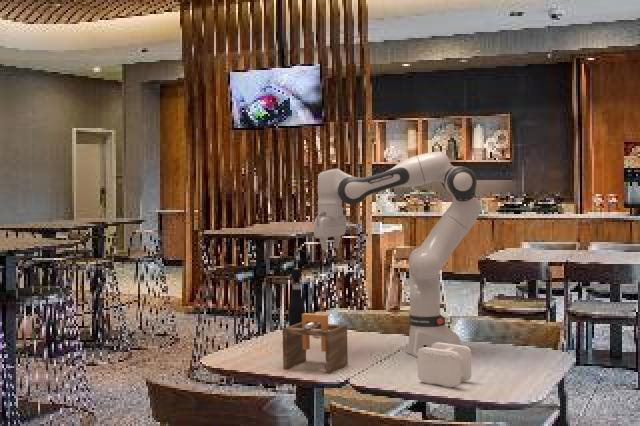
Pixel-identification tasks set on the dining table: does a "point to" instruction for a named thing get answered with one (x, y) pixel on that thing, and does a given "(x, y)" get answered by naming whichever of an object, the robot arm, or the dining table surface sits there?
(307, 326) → the hook rod
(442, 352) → the cable organizer
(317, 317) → the wooden u-shaped block
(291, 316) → the wine bottle
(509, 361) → the dining table surface
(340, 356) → the walnut shelf
